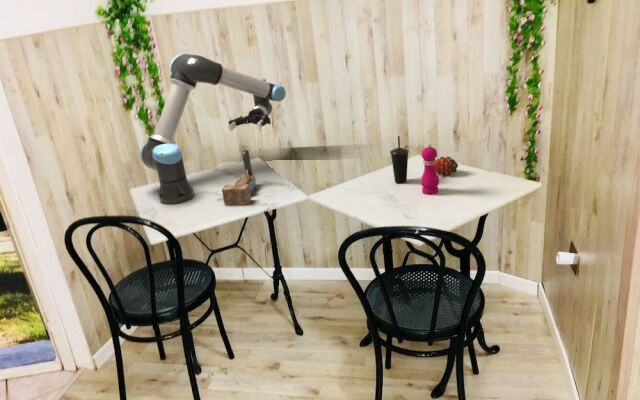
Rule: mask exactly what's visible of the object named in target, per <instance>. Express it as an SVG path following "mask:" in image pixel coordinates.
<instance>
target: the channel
mask: <svg viewBox="0 0 640 400" xmlns="http://www.w3.org/2000/svg"><path fill="white" fill-rule="evenodd" d="M241 179H242V177H240V178H239V179H238V180H237V181H236V182H235V183H234V185H236V184H237V183H238V182H239V181H240V180H241ZM256 182H257V181H256V176H255V177H253V178H252V179H251V180H250V181H249V183H248V185H249V190H250V196H251V197H252V195H253V193H254V192H255V191H256V189H257V183H256Z"/></svg>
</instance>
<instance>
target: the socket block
mask: <svg viewBox="0 0 640 400" xmlns="http://www.w3.org/2000/svg"><path fill="white" fill-rule="evenodd" d="M221 192H222V197H223V203H224V206H244V205H245V206H246V205H249V203H250V202H251V201H252V198H251V197H252V195H251V196H250V190H249V185H248V184H246V185H235V184H226V185H224V187H222V189H221Z"/></svg>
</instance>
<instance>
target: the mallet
mask: <svg viewBox="0 0 640 400" xmlns="http://www.w3.org/2000/svg"><path fill="white" fill-rule="evenodd" d="M241 154H242V162H243V166H244V175H243V176H242V177H241V178H242V179H241V180H240V181H239V182H238V183H237V184H236V185H246V184H248V183H249V181H250V180H251V179H252V178H253V177H255V178H256V175H255V173H253V171H252V170H253V169H252V165H251V164H252V163H251V158H250V157H251V156H250V150H247V149H244V150H242V151H241Z"/></svg>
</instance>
